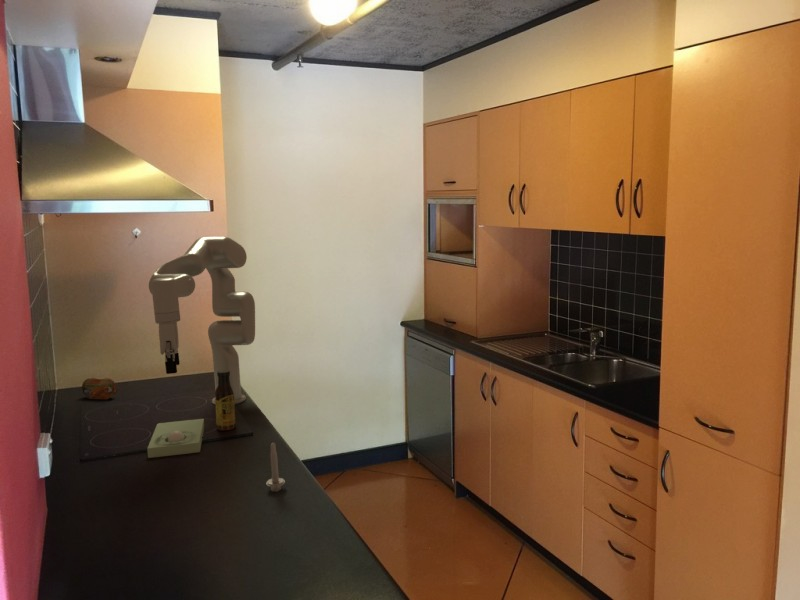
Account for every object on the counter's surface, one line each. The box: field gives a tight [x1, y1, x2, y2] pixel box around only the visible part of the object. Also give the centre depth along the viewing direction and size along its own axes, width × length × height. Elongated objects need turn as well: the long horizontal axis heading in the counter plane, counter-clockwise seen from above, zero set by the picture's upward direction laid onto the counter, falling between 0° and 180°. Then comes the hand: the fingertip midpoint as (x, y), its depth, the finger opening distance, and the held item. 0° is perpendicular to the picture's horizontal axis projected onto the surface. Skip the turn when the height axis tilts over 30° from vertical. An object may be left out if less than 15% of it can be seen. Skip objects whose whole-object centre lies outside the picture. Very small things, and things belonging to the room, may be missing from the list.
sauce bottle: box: [214, 370, 236, 432], centre depth 220 cm, size 6×6×20 cm
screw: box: [265, 442, 286, 493], centre depth 170 cm, size 13×5×5 cm
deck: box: [146, 418, 206, 459], centre depth 210 cm, size 24×15×3 cm, turn 13°
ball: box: [168, 431, 185, 442], centre depth 205 cm, size 5×5×5 cm
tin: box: [81, 377, 117, 400], centre depth 263 cm, size 15×3×8 cm, turn 73°
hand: (173, 369), depth 209 cm, fingers open, 9 cm apart
